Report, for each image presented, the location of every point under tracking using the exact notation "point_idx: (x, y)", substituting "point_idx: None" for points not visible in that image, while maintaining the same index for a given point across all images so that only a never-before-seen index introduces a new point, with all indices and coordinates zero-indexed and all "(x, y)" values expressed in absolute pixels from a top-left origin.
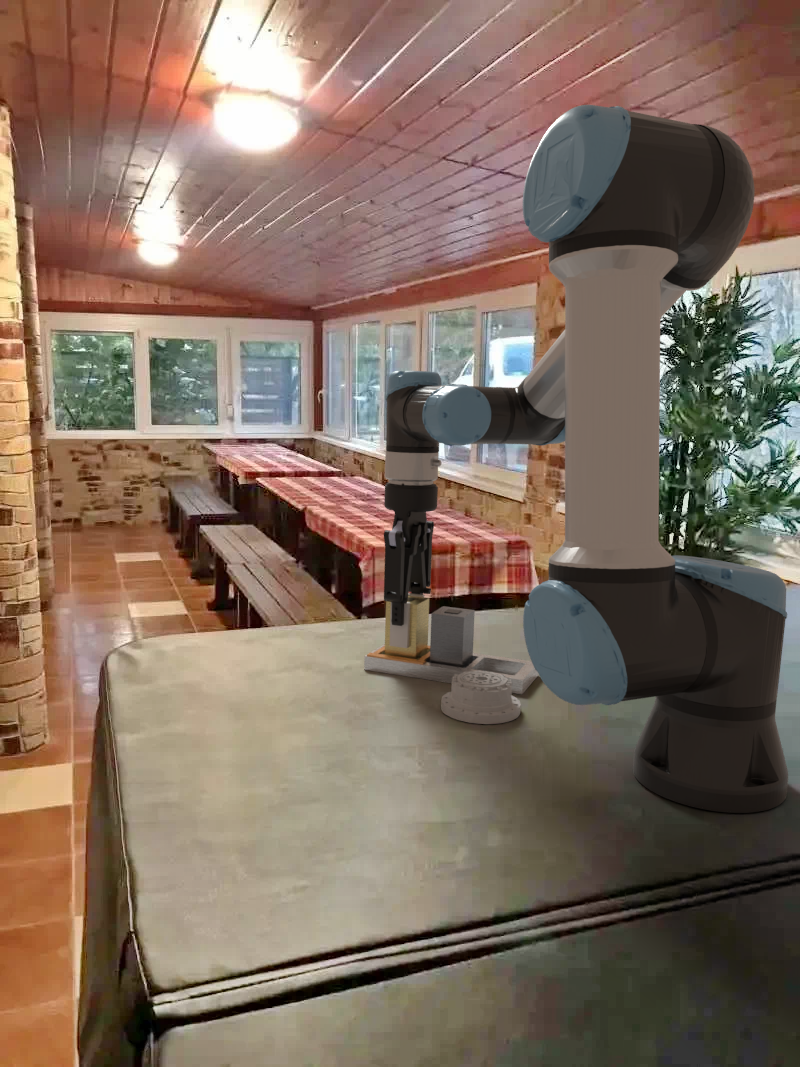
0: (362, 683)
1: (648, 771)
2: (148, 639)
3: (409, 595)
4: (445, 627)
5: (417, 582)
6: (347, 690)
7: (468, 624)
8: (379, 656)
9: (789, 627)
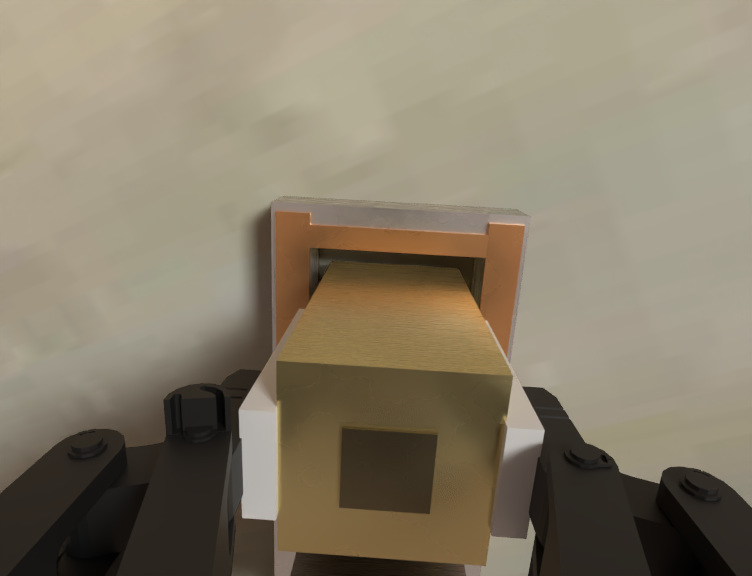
0: (147, 246)
1: None
2: None
3: (502, 449)
4: None
5: (542, 569)
6: (60, 228)
7: None
8: (275, 266)
9: None
